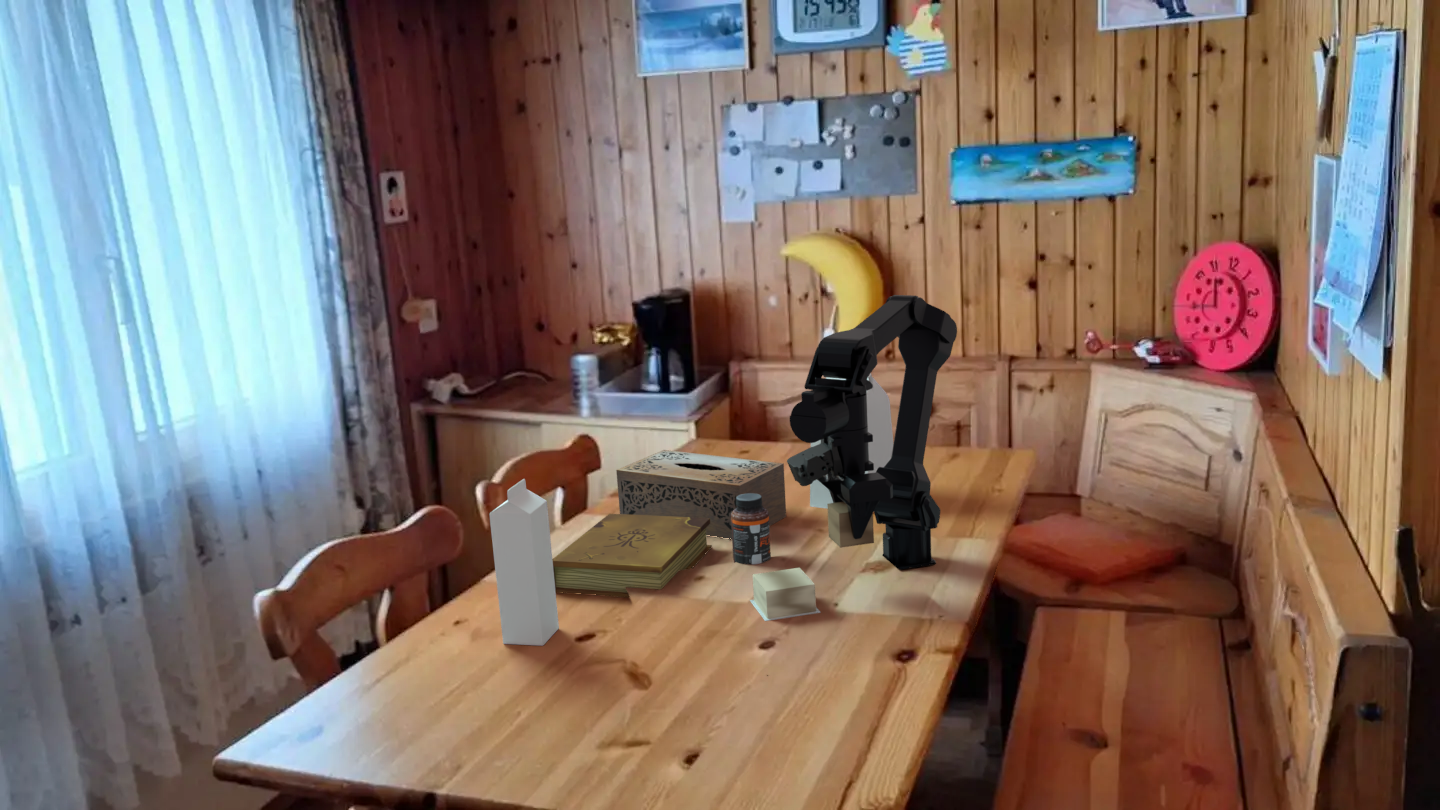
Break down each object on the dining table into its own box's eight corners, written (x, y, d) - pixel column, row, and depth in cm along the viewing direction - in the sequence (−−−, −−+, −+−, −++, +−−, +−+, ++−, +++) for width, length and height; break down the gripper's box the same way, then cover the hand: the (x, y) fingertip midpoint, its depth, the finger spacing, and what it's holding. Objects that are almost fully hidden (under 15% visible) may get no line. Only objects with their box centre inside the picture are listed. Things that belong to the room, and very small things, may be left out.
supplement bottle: (768, 572, 187) (764, 502, 185) (730, 572, 188) (726, 502, 186) (774, 559, 193) (770, 490, 190) (737, 558, 194) (733, 490, 192)
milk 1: (502, 644, 166) (485, 490, 162) (520, 626, 172) (503, 477, 167) (544, 646, 165) (527, 491, 160) (560, 628, 171) (544, 477, 166)
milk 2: (897, 495, 222) (893, 356, 216) (870, 514, 212) (865, 368, 207) (838, 488, 228) (833, 353, 222) (809, 506, 219) (803, 364, 213)
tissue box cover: (786, 518, 214) (783, 463, 212) (742, 543, 202) (739, 485, 200) (667, 501, 228) (664, 449, 226) (620, 523, 216) (616, 469, 214)
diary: (607, 545, 206) (605, 513, 205) (712, 551, 200) (710, 518, 199) (548, 595, 185) (545, 559, 183) (663, 602, 179) (661, 565, 178)
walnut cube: (861, 532, 176) (860, 499, 175) (873, 542, 171) (872, 509, 170) (828, 536, 174) (827, 503, 173) (840, 547, 170) (838, 513, 169)
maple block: (800, 593, 174) (799, 567, 173) (816, 611, 168) (814, 584, 167) (754, 600, 173) (752, 574, 172) (767, 618, 166) (765, 591, 165)
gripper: (772, 418, 176) (777, 521, 180) (812, 448, 158) (817, 561, 162) (845, 410, 179) (849, 511, 182) (892, 438, 161) (895, 550, 164)
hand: (850, 532), depth 172 cm, fingers closed on walnut cube, 5 cm apart
